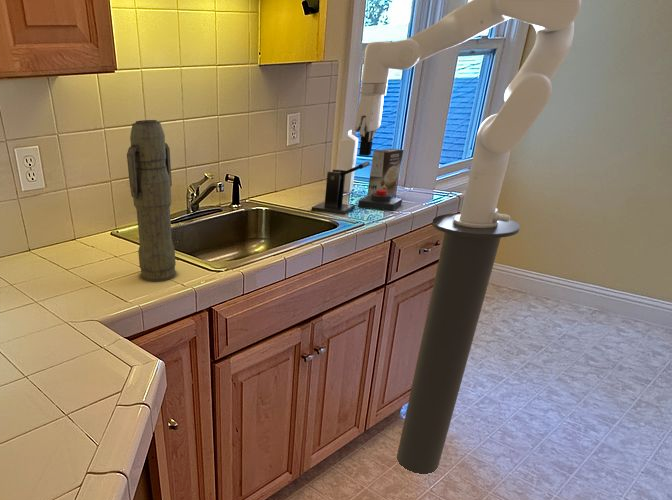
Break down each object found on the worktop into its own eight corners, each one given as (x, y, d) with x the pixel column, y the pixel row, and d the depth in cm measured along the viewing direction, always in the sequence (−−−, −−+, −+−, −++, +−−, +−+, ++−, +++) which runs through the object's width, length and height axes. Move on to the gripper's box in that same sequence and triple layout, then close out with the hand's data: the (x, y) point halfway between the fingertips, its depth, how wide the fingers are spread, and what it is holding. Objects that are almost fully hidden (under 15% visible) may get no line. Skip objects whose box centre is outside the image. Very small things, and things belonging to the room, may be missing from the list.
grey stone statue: (186, 270, 127) (179, 118, 110) (158, 286, 119) (145, 124, 101) (159, 265, 132) (147, 118, 114) (129, 279, 123) (112, 123, 106)
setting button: (388, 195, 174) (388, 189, 173) (384, 197, 171) (385, 191, 171) (377, 194, 176) (378, 188, 175) (374, 196, 173) (374, 190, 173)
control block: (401, 205, 175) (403, 193, 173) (392, 210, 169) (394, 198, 167) (367, 201, 182) (369, 190, 180) (358, 207, 176) (359, 195, 174)
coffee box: (380, 199, 185) (386, 152, 176) (366, 196, 189) (372, 150, 181) (396, 195, 189) (404, 149, 180) (383, 192, 193) (389, 147, 185)
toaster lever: (370, 166, 163) (368, 159, 163) (363, 169, 159) (361, 162, 159) (337, 180, 172) (335, 173, 171) (329, 183, 168) (327, 176, 167)
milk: (352, 189, 200) (360, 129, 189) (349, 192, 195) (356, 131, 184) (337, 188, 203) (343, 129, 192) (333, 191, 198) (340, 131, 187)
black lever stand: (354, 208, 174) (359, 170, 167) (344, 214, 168) (348, 174, 161) (322, 205, 180) (325, 167, 174) (311, 210, 174) (314, 171, 168)
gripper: (370, 88, 158) (362, 151, 167) (351, 91, 148) (344, 157, 157) (394, 88, 154) (384, 152, 163) (376, 91, 144) (367, 159, 153)
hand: (364, 154), depth 160 cm, fingers closed
